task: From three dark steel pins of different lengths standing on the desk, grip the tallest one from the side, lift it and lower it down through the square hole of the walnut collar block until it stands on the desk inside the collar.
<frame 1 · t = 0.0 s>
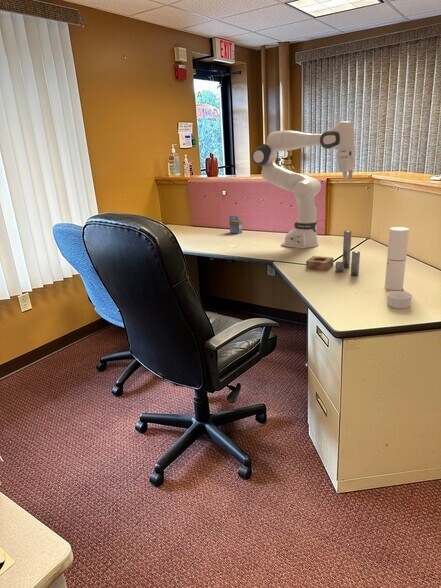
hand: (348, 179, 228), 39 cm above the table, tool pointing down, fingers open, 8 cm apart
cylindrical container: (393, 287, 175), on the table
tall steel pin: (345, 267, 206), on the table
walnut collar block: (319, 266, 209), on the table
medium steel pin: (354, 275, 194), on the table
short steel pin: (339, 271, 200), on the table
ramekin: (398, 305, 157), on the table
label tape cartridge: (236, 233, 299), on the table
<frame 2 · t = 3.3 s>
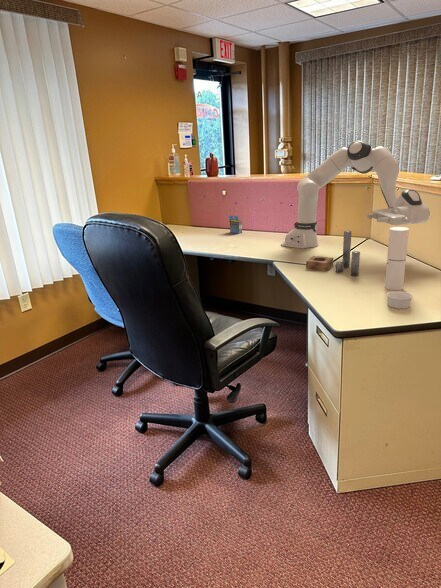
hand: (372, 218, 200), 23 cm above the table, tool horizontal, fingers open, 8 cm apart
nothing on the table moved.
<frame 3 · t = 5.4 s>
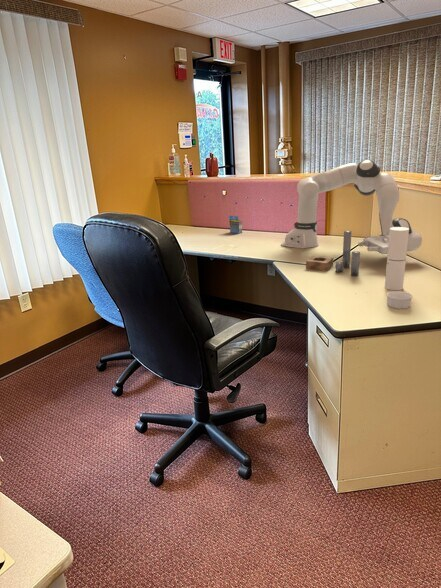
hand: (363, 246, 203), 10 cm above the table, tool horizontal, fingers open, 8 cm apart
nothing on the table moved.
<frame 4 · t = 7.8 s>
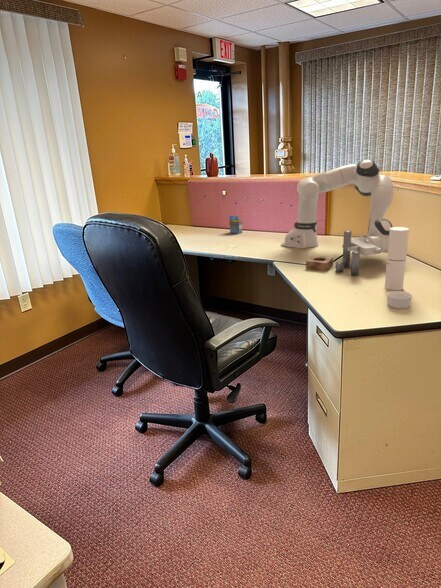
hand: (345, 247, 202), 10 cm above the table, tool horizontal, fingers closed on tall steel pin, 3 cm apart
tall steel pin: (345, 267, 206), on the table, touching gripper
everything else where it was.
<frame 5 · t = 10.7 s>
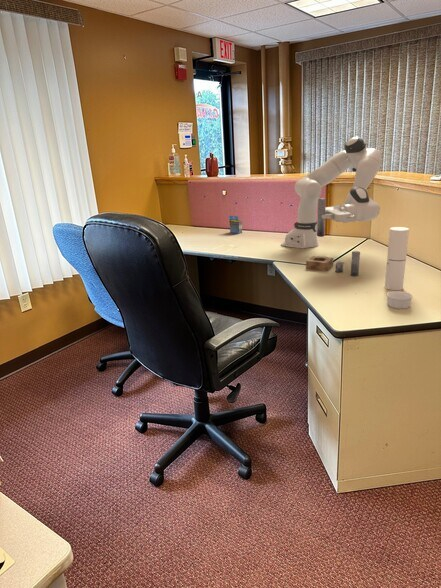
hand: (319, 215, 200), 26 cm above the table, tool horizontal, fingers closed on tall steel pin, 3 cm apart
tall steel pin: (320, 235, 203), point 16 cm above the table, touching gripper
everything else where it was.
when the fingers open (11 cm above the table, at t = 13.6 s): tall steel pin drops 1 cm, resting in walnut collar block.
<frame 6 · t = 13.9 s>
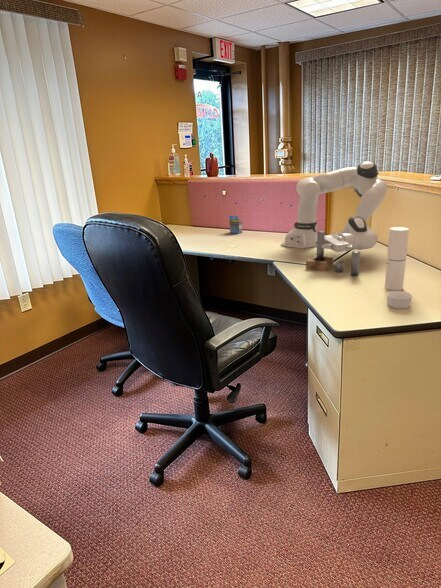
hand: (318, 244, 205), 12 cm above the table, tool horizontal, fingers open, 6 cm apart
tall steel pin: (319, 266, 209), resting in walnut collar block
everything else where it was.
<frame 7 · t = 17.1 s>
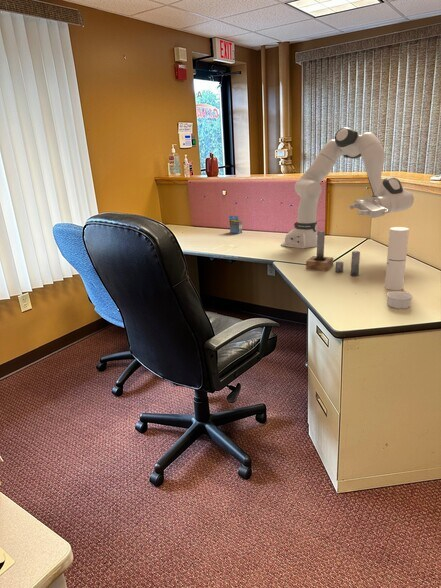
hand: (353, 210, 203), 27 cm above the table, tool horizontal, fingers open, 8 cm apart
nothing on the table moved.
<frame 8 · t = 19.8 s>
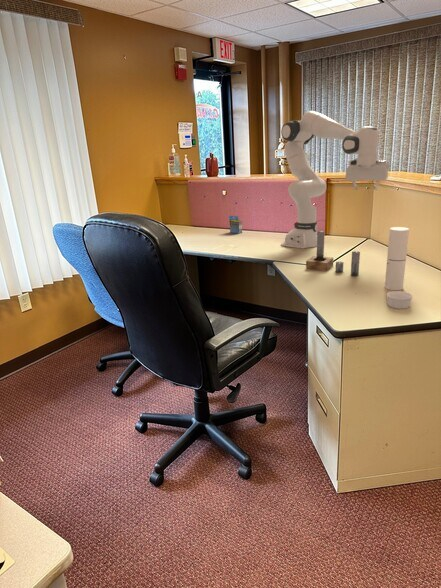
hand: (365, 189, 211), 35 cm above the table, tool pointing down, fingers open, 8 cm apart
nothing on the table moved.
at the end: tall steel pin 0.1 cm off-centre on the walnut collar block, point 0.0 cm above the walnut collar block's base; tall steel pin tilted 1°; the gripper is holding nothing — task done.
